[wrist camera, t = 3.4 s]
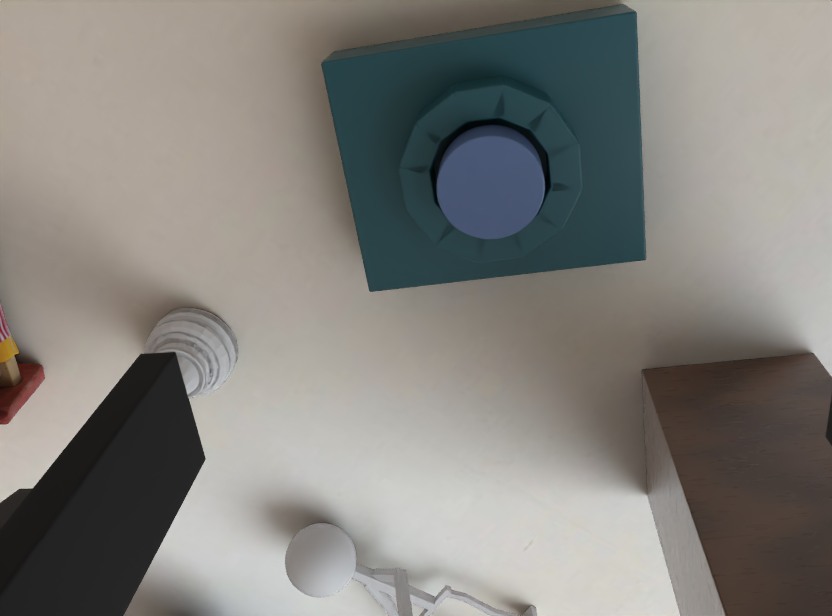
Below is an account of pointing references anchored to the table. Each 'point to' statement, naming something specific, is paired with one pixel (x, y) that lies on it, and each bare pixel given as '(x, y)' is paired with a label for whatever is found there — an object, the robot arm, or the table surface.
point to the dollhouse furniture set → (14, 376)
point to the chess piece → (196, 348)
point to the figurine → (361, 574)
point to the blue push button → (490, 182)
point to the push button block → (494, 105)
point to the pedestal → (742, 484)
